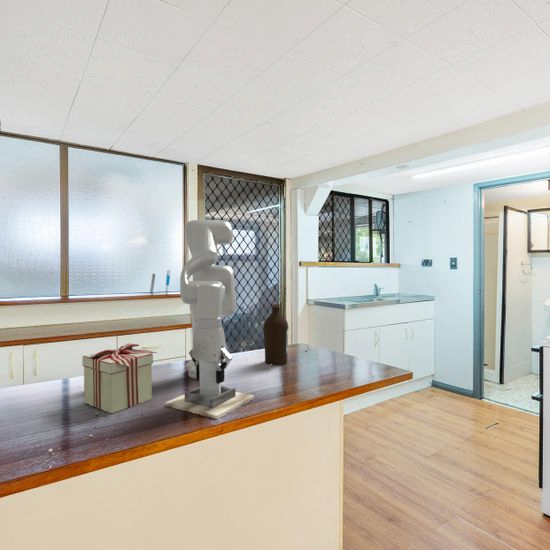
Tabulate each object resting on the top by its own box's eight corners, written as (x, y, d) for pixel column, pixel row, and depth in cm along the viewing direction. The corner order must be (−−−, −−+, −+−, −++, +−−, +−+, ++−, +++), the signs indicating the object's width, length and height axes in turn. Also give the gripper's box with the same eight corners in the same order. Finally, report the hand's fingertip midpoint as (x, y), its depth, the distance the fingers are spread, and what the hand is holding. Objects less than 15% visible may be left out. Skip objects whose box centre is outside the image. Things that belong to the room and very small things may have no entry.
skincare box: (221, 393, 121) (220, 355, 120) (219, 398, 117) (219, 359, 116) (201, 393, 121) (201, 356, 120) (199, 398, 116) (198, 359, 116)
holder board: (165, 405, 116) (165, 394, 116) (205, 388, 131) (204, 378, 131) (217, 419, 106) (217, 406, 106) (253, 398, 121) (253, 387, 121)
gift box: (120, 417, 108) (119, 356, 107) (79, 405, 116) (77, 349, 116) (165, 398, 122) (164, 344, 122) (125, 388, 131) (124, 339, 131)
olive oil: (266, 366, 157) (266, 305, 156) (261, 360, 167) (261, 302, 166) (291, 364, 159) (291, 304, 158) (285, 358, 170) (284, 302, 169)
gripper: (179, 322, 119) (180, 379, 120) (224, 327, 110) (225, 388, 111) (196, 319, 125) (197, 373, 126) (239, 323, 116) (240, 381, 117)
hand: (210, 380), depth 118 cm, fingers closed on skincare box, 7 cm apart
